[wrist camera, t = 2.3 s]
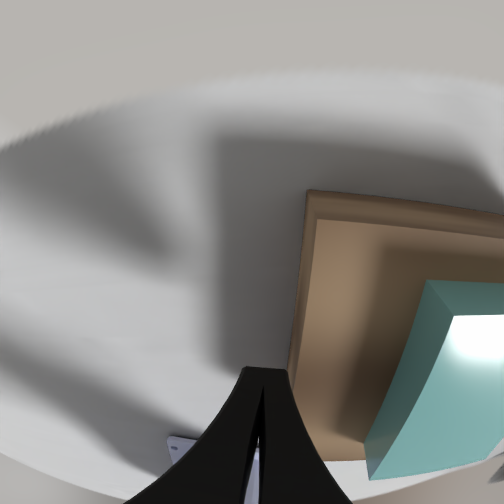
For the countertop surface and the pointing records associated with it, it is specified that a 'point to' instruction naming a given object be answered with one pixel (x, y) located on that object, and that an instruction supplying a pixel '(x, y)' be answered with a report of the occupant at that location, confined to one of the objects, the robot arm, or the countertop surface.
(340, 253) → the block
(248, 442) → the robot arm
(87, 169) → the countertop surface
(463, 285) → the tile
